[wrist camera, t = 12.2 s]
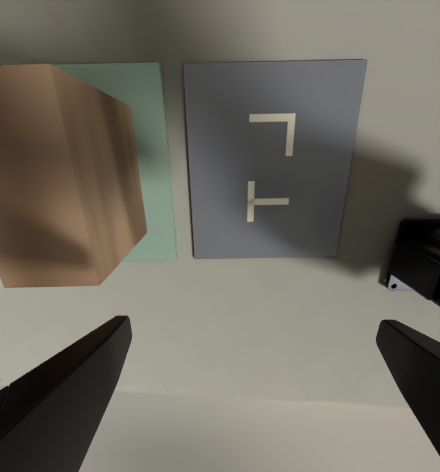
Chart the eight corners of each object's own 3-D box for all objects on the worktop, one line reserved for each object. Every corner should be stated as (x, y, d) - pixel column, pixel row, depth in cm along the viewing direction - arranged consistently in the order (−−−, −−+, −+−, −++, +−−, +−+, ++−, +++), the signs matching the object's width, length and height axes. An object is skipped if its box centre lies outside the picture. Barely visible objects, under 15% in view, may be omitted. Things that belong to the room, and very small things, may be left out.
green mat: (160, 64, 16) (159, 62, 15) (177, 258, 20) (176, 260, 20) (24, 67, 16) (18, 65, 15) (72, 260, 20) (69, 262, 20)
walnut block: (130, 106, 16) (49, 63, 8) (147, 232, 19) (99, 285, 11) (62, 108, 16) (-80, 67, 8) (90, 234, 19) (4, 287, 11)
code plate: (365, 60, 15) (367, 59, 15) (335, 255, 20) (336, 256, 20) (183, 64, 15) (182, 63, 15) (194, 258, 20) (194, 259, 20)
